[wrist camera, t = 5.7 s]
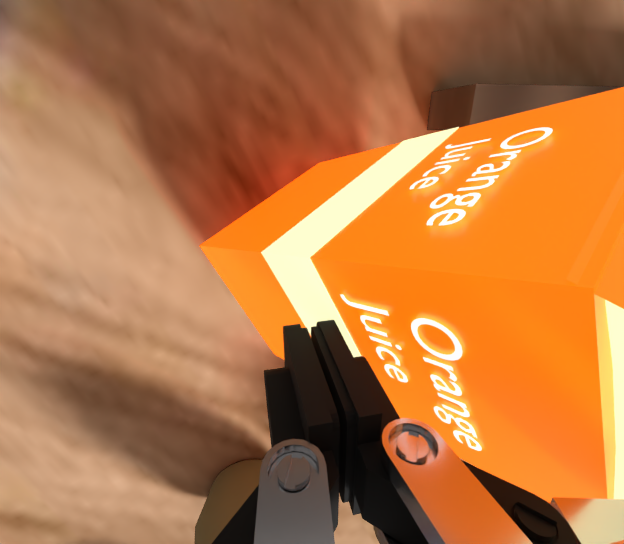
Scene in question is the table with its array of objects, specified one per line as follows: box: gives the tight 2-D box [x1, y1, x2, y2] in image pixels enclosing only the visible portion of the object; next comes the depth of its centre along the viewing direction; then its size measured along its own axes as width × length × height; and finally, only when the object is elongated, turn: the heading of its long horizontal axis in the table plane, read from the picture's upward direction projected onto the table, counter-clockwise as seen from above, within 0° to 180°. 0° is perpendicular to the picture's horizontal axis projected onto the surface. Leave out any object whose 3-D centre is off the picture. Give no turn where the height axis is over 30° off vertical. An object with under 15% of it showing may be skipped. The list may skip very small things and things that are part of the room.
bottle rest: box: [427, 84, 622, 130], centre depth 23 cm, size 19×18×4 cm
